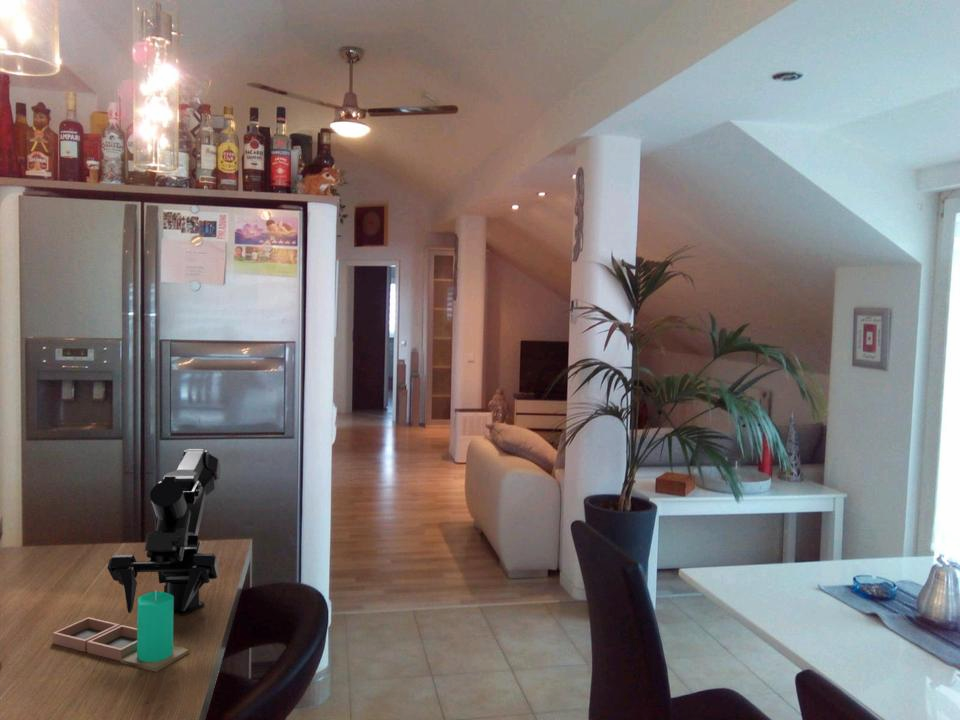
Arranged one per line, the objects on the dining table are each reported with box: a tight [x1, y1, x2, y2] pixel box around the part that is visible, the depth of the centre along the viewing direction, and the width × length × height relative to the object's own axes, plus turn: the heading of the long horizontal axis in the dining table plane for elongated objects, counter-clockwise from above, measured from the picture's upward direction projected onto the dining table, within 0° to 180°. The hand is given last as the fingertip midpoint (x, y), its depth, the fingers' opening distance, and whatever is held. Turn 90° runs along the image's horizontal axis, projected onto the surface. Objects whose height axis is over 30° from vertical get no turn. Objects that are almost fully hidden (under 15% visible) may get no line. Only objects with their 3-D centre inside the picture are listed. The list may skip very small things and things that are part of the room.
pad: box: [120, 645, 190, 673], centre depth 134 cm, size 8×8×1 cm
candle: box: [136, 590, 175, 662], centre depth 134 cm, size 6×6×12 cm
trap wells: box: [51, 616, 137, 662], centre depth 139 cm, size 16×8×2 cm, turn 70°
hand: (156, 611), depth 134 cm, fingers open, 9 cm apart
